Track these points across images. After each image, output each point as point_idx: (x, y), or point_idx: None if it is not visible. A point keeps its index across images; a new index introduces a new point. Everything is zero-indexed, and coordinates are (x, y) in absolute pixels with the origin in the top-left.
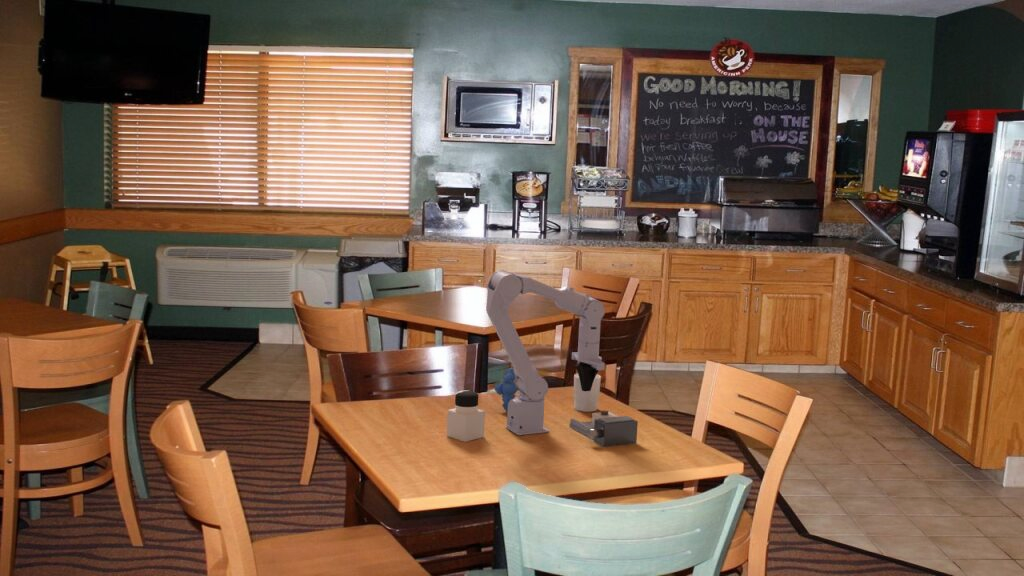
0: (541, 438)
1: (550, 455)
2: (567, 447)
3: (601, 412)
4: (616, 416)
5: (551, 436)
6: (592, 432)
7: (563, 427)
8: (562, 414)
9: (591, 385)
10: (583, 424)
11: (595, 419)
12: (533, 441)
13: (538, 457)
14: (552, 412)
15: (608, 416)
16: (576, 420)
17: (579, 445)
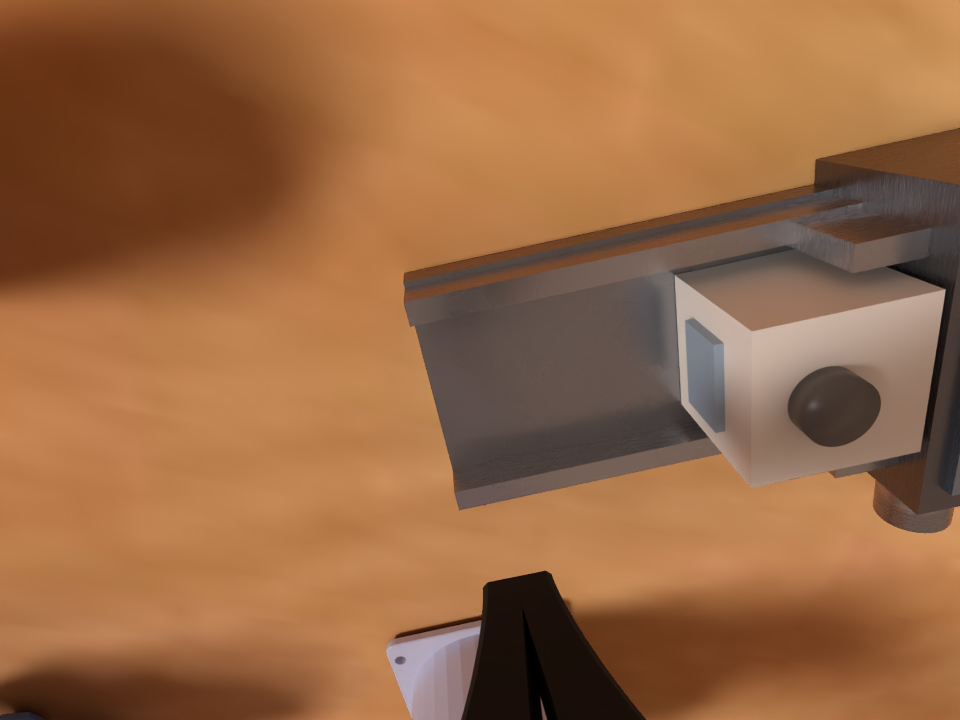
0: (647, 648)
1: (905, 655)
2: (834, 569)
3: (835, 441)
4: (936, 311)
5: (626, 602)
6: (952, 510)
7: None
8: (108, 442)
9: (577, 629)
10: (631, 464)
11: (920, 510)
12: (683, 685)
13: (905, 697)
14: (56, 496)
15: (900, 386)
16: (520, 484)
17: (829, 508)
